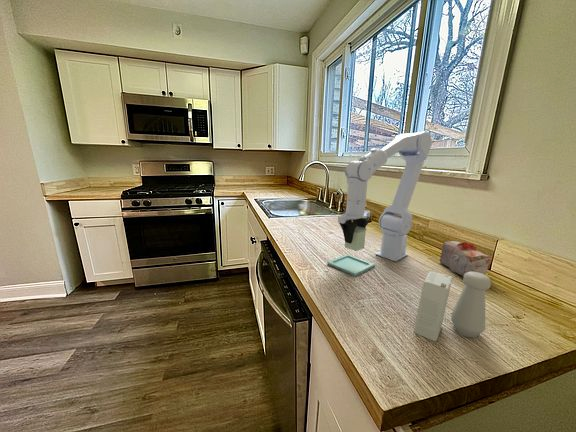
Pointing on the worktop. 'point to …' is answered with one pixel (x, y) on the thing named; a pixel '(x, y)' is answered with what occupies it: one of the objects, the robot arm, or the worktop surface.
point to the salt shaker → (471, 305)
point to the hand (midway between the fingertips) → (352, 240)
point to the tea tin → (357, 239)
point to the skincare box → (432, 305)
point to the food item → (464, 258)
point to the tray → (351, 265)
